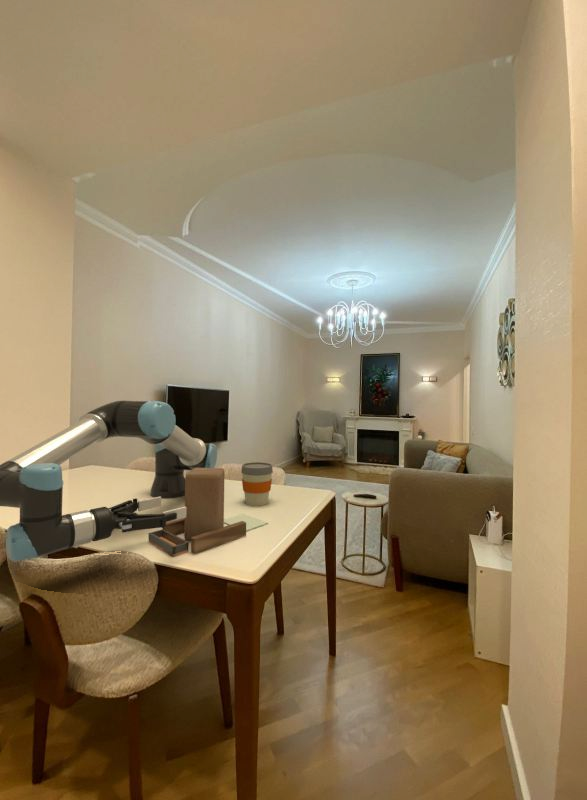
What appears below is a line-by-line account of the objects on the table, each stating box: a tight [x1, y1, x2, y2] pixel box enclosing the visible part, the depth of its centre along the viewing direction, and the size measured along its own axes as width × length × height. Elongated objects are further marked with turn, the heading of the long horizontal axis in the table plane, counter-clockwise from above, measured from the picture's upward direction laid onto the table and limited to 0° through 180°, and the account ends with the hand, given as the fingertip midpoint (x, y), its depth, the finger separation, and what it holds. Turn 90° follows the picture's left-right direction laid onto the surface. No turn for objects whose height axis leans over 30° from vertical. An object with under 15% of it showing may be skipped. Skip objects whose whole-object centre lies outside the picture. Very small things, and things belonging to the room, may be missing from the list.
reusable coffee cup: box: [240, 461, 274, 507], centre depth 143 cm, size 13×13×15 cm
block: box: [183, 467, 225, 542], centre depth 108 cm, size 10×10×20 cm
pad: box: [224, 513, 269, 533], centre depth 120 cm, size 13×10×1 cm
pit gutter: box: [148, 528, 190, 557], centre depth 100 cm, size 14×4×2 cm, turn 48°
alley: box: [162, 518, 247, 555], centre depth 108 cm, size 18×18×4 cm
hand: (172, 506), depth 100 cm, fingers open, 13 cm apart
